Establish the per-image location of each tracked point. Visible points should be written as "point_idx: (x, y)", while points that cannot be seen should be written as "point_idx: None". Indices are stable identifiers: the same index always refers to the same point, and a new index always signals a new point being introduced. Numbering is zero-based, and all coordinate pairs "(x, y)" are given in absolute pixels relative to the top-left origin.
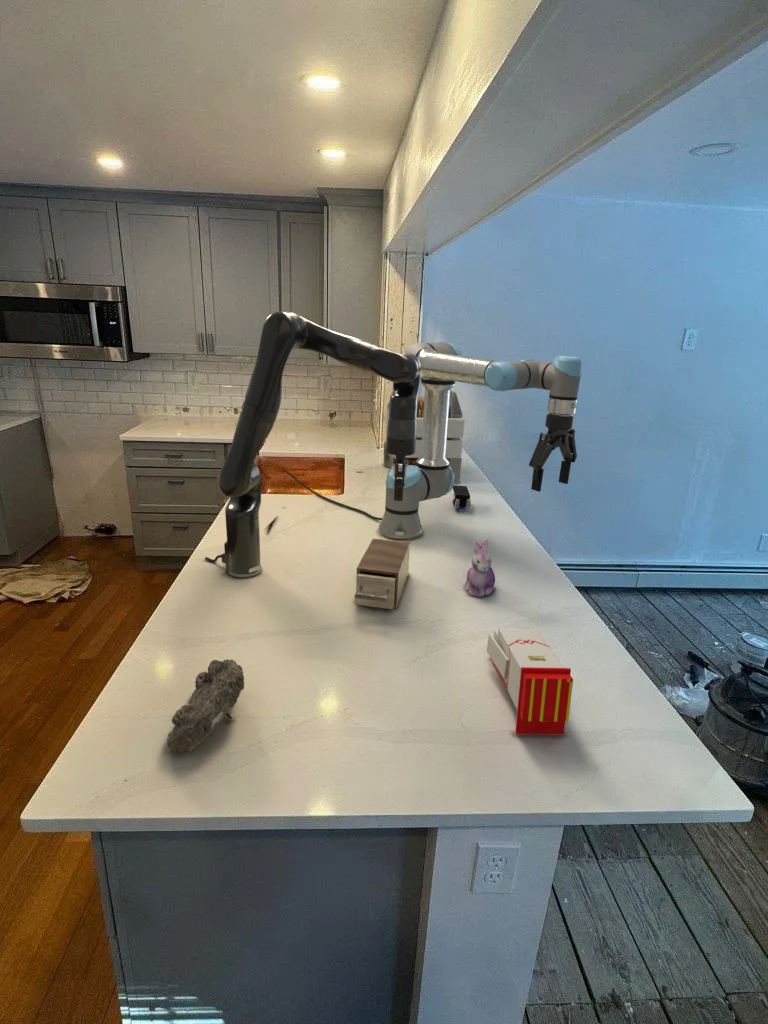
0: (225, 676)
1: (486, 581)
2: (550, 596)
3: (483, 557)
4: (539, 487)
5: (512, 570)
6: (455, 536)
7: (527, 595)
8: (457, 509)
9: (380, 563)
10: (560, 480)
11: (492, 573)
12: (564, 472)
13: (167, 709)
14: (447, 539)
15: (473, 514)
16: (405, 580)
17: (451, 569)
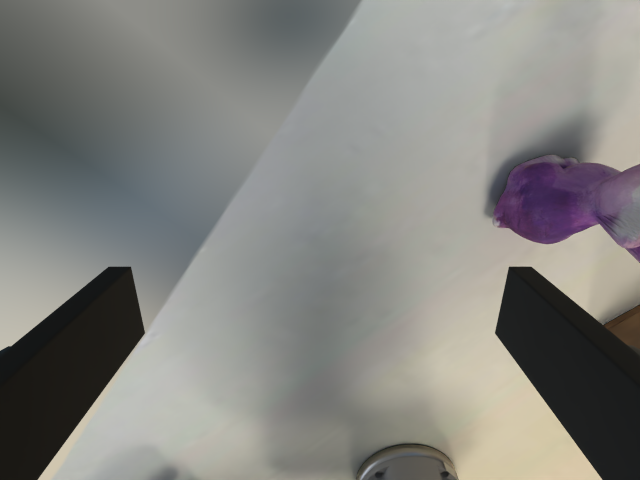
0: None
1: (593, 163)
2: (425, 37)
3: None
4: (553, 285)
5: (366, 211)
6: (316, 411)
7: (471, 86)
8: None
9: None
10: (134, 329)
11: (556, 177)
12: (80, 360)
13: None
14: (347, 409)
15: (167, 469)
16: (630, 315)
17: (485, 301)
